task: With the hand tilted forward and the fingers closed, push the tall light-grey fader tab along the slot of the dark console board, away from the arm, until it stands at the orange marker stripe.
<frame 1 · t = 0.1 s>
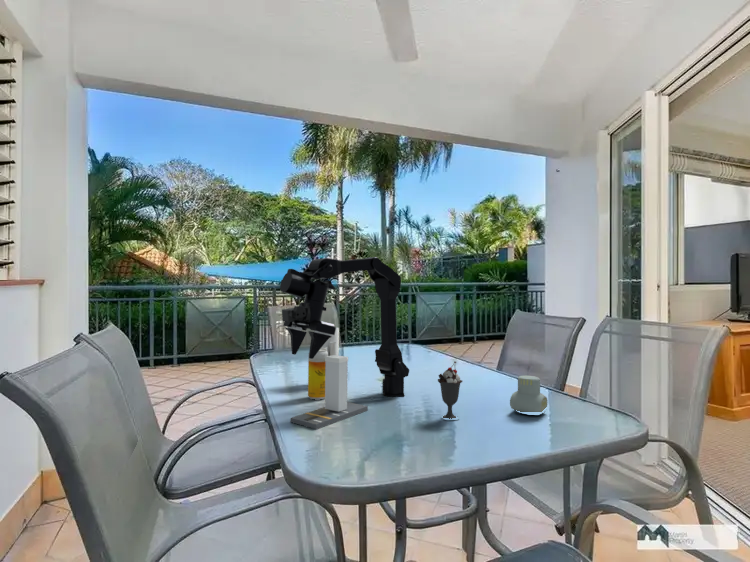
hand: (301, 356, 122), 15 cm above the table, tool pointing down, fingers open, 9 cm apart
fader tab: (336, 382, 120), point 9 cm above the table, slide at 0.0 cm
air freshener: (528, 414, 123), on the table
console: (330, 416, 118), on the table
sundae: (449, 419, 117), on the table
beer can: (317, 398, 138), on the table
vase: (327, 385, 156), on the table
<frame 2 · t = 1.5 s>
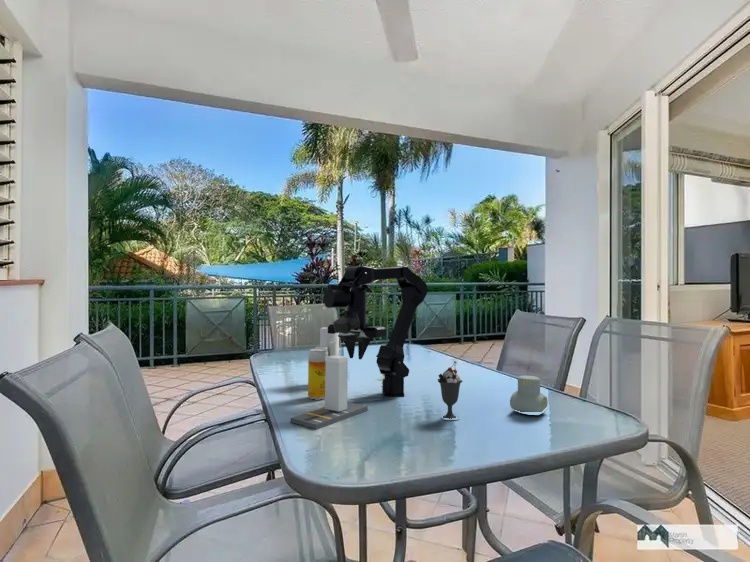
hand: (355, 358, 134), 13 cm above the table, tool pointing down, fingers open, 3 cm apart
nothing on the table moved.
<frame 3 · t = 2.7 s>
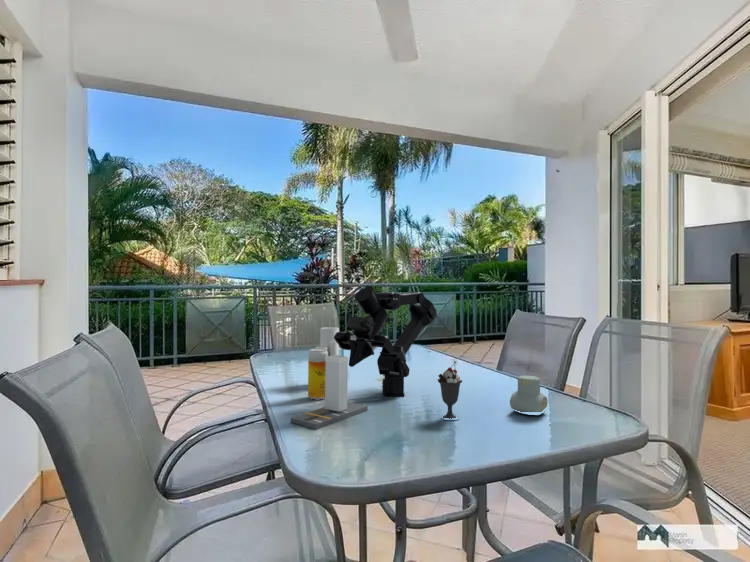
hand: (350, 365, 125), 12 cm above the table, tool tilted 45°, fingers closed
nothing on the table moved.
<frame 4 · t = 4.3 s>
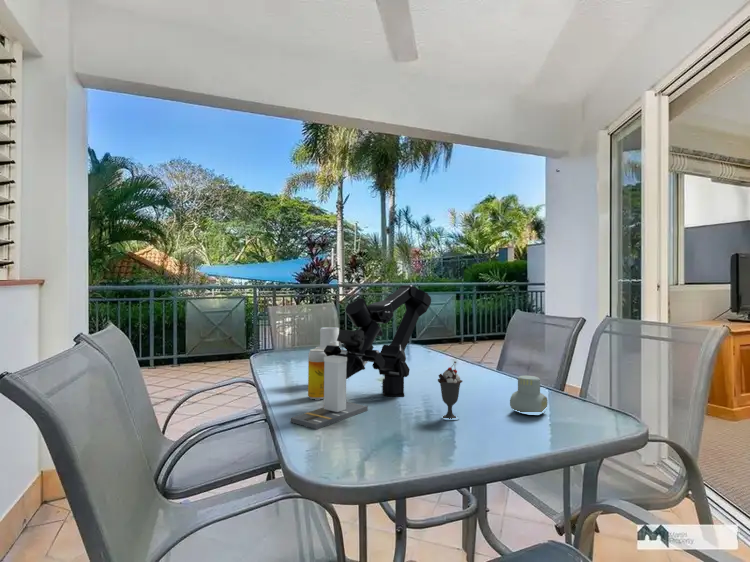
hand: (340, 381, 121), 9 cm above the table, tool tilted 45°, fingers closed, pressing on fader tab
fader tab: (335, 382, 120), point 9 cm above the table, slide at 0.5 cm, touching gripper
everything else where it was.
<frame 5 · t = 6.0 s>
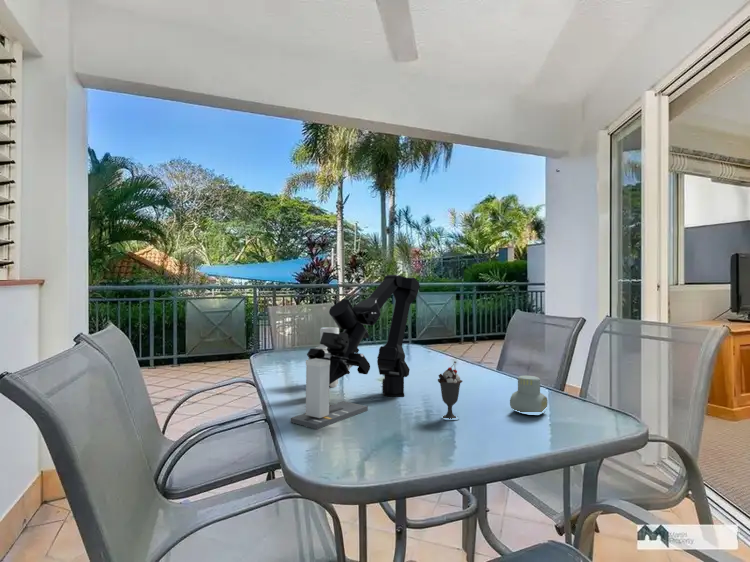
hand: (323, 386, 116), 9 cm above the table, tool tilted 45°, fingers closed
fader tab: (317, 387, 114), point 9 cm above the table, slide at 7.4 cm
everything else where it was.
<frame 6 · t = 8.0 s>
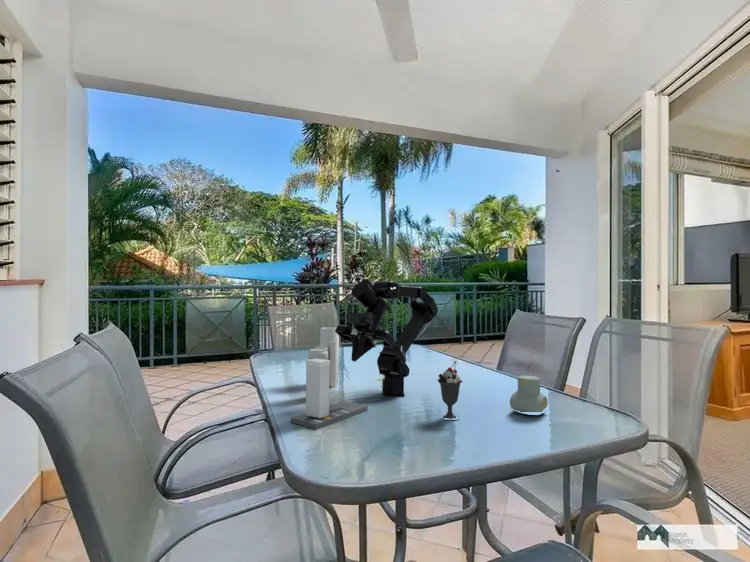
hand: (353, 360, 128), 13 cm above the table, tool tilted 35°, fingers closed
nothing on the table moved.
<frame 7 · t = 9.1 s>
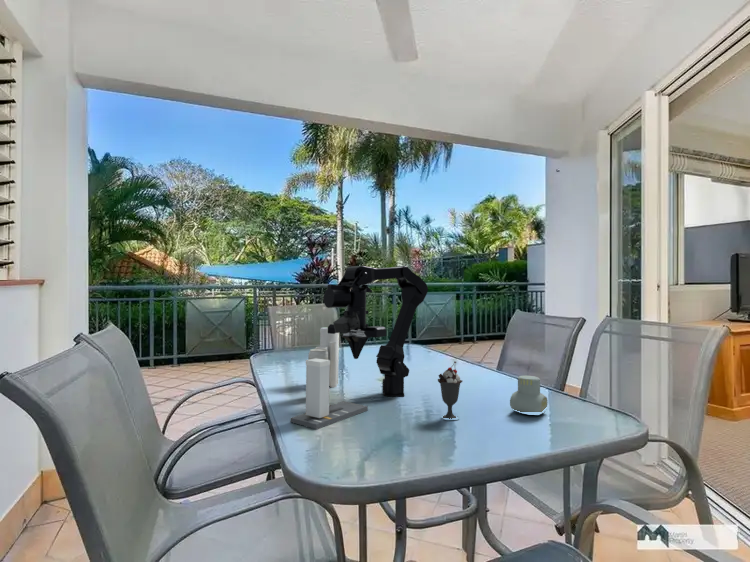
hand: (355, 358, 134), 13 cm above the table, tool pointing down, fingers closed
nothing on the table moved.
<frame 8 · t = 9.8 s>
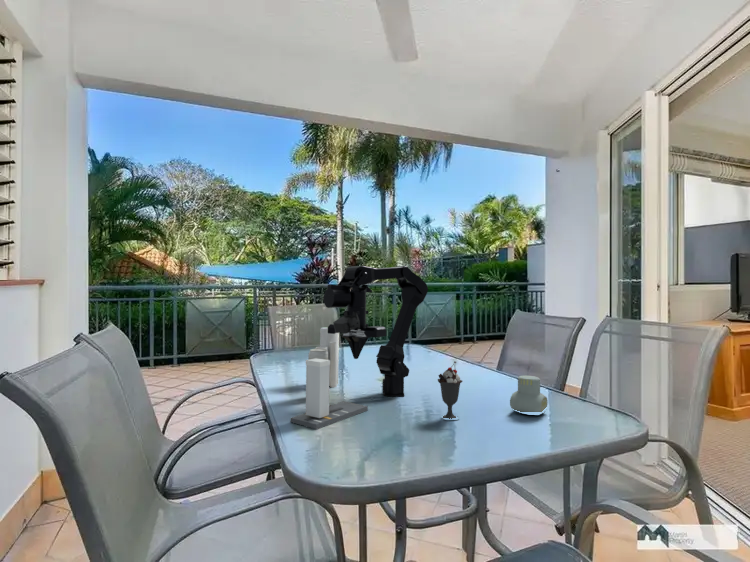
hand: (355, 358, 134), 13 cm above the table, tool pointing down, fingers closed
nothing on the table moved.
at the end: fader tab slide at 7.4 cm; the gripper is holding nothing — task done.
